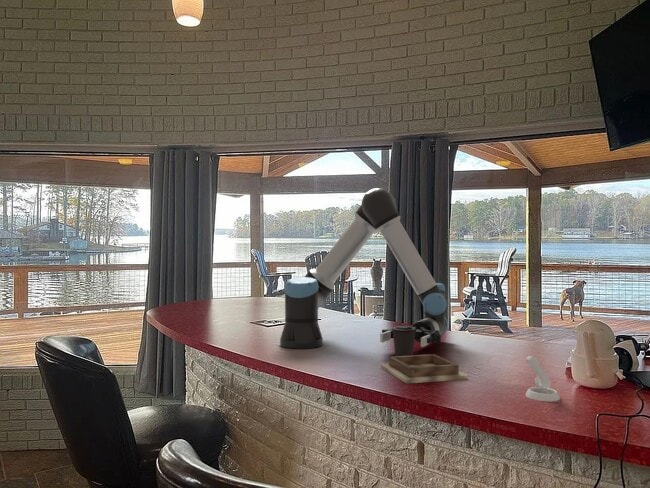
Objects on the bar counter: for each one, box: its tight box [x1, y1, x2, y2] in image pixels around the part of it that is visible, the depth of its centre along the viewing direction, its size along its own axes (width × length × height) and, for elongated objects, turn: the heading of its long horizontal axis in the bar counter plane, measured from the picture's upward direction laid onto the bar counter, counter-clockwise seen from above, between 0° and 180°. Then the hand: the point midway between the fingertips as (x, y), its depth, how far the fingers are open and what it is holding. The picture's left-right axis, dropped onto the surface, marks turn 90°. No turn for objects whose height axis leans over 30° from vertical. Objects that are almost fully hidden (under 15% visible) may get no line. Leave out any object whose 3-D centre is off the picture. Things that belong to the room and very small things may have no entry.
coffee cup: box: [390, 325, 417, 356], centre depth 173 cm, size 8×8×10 cm
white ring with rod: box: [525, 355, 561, 403], centre depth 130 cm, size 8×12×7 cm
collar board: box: [380, 353, 469, 384], centre depth 153 cm, size 18×18×4 cm
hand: (401, 340), depth 171 cm, fingers open, 13 cm apart
